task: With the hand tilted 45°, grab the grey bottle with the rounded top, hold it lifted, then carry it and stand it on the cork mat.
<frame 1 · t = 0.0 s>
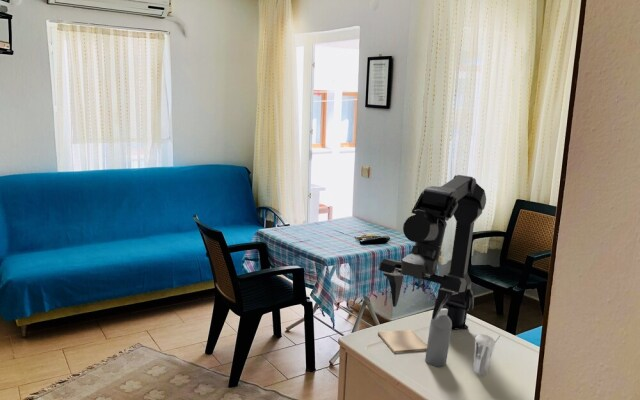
hand: (413, 312, 112), 15 cm above the table, tool pointing down, fingers open, 9 cm apart
grey bottle: (435, 362, 122), on the table
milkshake: (481, 373, 119), on the table
cork mat: (403, 341, 131), on the table
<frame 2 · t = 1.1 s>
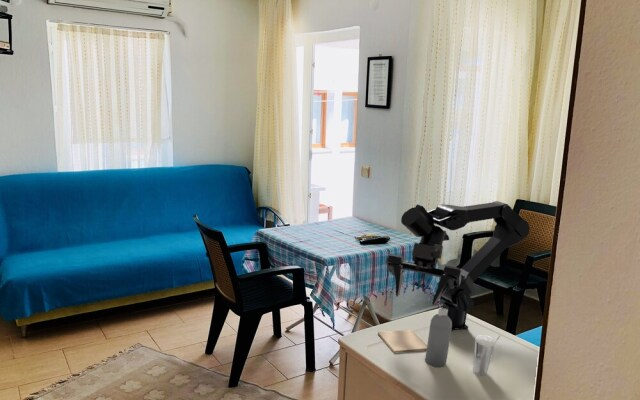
hand: (414, 300, 124), 13 cm above the table, tool tilted 45°, fingers open, 9 cm apart
nothing on the table moved.
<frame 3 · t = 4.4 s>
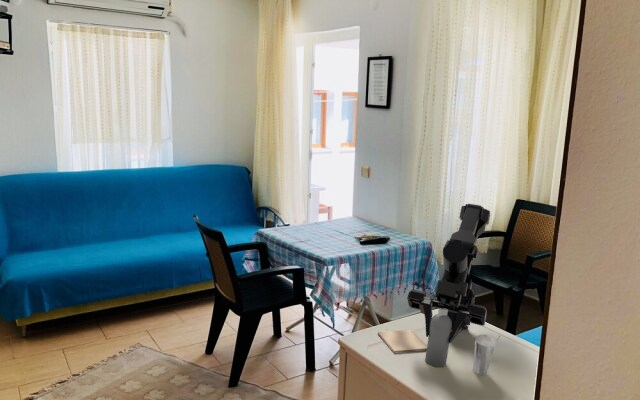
hand: (438, 339, 119), 7 cm above the table, tool tilted 45°, fingers closed on grey bottle, 5 cm apart
grey bottle: (435, 362, 122), on the table, touching gripper
everything else where it was.
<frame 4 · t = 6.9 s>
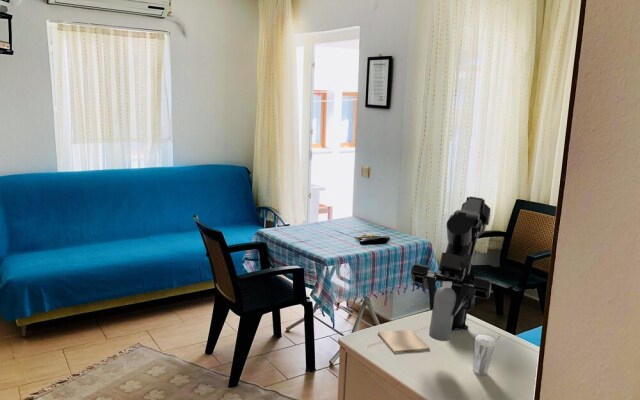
hand: (442, 312, 118), 13 cm above the table, tool tilted 45°, fingers closed on grey bottle, 5 cm apart
grey bottle: (439, 335, 121), point 7 cm above the table, touching gripper
everything else where it was.
when the fingers open (8 cm above the table, at t = 9.8 s): grey bottle drops 1 cm, resting on cork mat.
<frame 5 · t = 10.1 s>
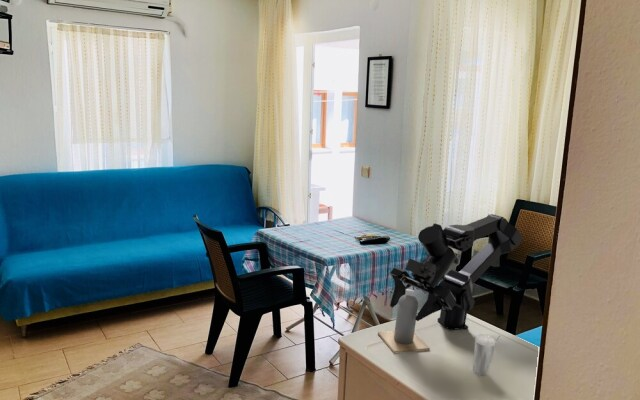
hand: (403, 313, 128), 8 cm above the table, tool tilted 45°, fingers open, 8 cm apart
grey bottle: (403, 339, 131), point 1 cm above the table, touching cork mat
everything else where it was.
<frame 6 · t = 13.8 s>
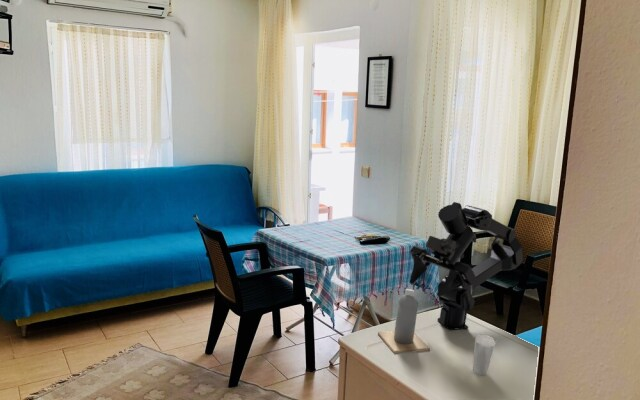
hand: (423, 289, 131), 14 cm above the table, tool tilted 45°, fingers open, 9 cm apart
nothing on the table moved.
at the end: grey bottle 0.0 cm off-centre on the cork mat, point 0.6 cm above the cork mat's base; grey bottle tilted 0°; the gripper is holding nothing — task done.
